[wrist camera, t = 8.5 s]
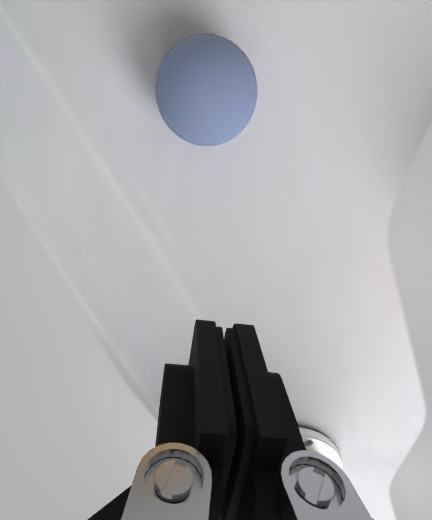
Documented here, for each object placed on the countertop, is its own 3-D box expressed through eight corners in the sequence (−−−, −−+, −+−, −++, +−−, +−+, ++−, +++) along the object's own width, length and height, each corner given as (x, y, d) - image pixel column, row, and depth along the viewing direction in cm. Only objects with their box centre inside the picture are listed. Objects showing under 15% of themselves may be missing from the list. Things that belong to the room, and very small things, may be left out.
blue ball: (284, 118, 18) (269, 88, 22) (216, 13, 15) (214, 3, 20) (199, 181, 20) (200, 143, 24) (125, 98, 17) (141, 72, 22)
